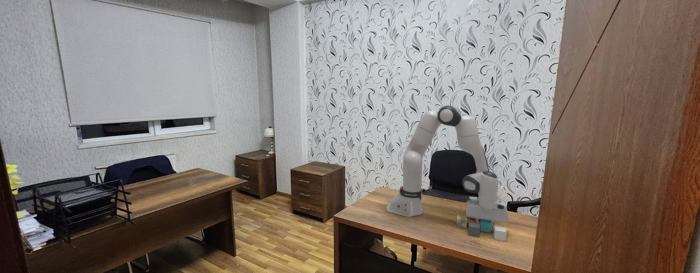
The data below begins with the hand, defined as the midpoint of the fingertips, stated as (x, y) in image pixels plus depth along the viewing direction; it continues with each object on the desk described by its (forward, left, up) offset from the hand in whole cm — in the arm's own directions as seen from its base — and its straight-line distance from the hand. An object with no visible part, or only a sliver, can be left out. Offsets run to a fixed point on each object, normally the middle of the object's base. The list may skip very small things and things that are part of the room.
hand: (485, 226), depth 153 cm
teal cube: (0, 0, -2) cm, 2 cm away
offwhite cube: (+6, -7, -2) cm, 9 cm away
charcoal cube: (-6, -7, -2) cm, 9 cm away
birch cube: (-12, 0, -2) cm, 12 cm away
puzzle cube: (-3, +16, -2) cm, 16 cm away
